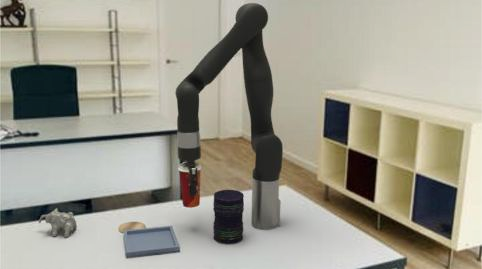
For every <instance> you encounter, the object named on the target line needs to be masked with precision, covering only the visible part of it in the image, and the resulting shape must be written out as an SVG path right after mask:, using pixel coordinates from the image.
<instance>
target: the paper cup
mask: <svg viewBox="0 0 482 269" xmlns="http://www.w3.org/2000/svg"><path fill="white" fill-rule="evenodd" d="M184 163H185V162H184ZM195 164H196V165H197V166H195V168H197V169H198V170H197V173H198V185H196V196H193V197H190V195H189V181H188V179H187V175H188V176H189V170H188V167H184V165H186V164H183V162H182V163H180V164H179V165H178V168H177V171H178V172H179V182H180V189H181V190H180V192H181V200H182V205H183V207H185V208H191V209H192V208H195V207H198V206H200V204H201V201H200V200H201V198H200V197H201V170H202V166H201V163H200V162H197V161H195ZM192 182H194V179H192Z"/></svg>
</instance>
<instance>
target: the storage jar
mask: <svg viewBox="0 0 482 269" xmlns="http://www.w3.org/2000/svg"><path fill="white" fill-rule="evenodd" d="M244 198H245V196H244V193H243V192H241V191H239V190H236V189H235V190H234V189H221V190H218V191H215V193H213V212H214V215H213V216H214V217H213V218H214V221H213V227H212V228H213V229H212V230H213V240H214V241H215V242H216V243H218V244H222V245H234V244H238V243H241V241H243V239H244V236H243V234H244V222H243V218H244V217H243V216H244V215H243V214H244V205H245V202H244Z"/></svg>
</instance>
